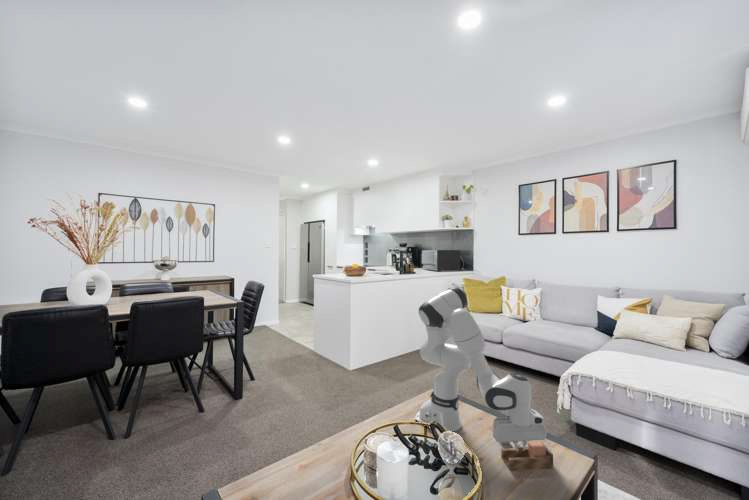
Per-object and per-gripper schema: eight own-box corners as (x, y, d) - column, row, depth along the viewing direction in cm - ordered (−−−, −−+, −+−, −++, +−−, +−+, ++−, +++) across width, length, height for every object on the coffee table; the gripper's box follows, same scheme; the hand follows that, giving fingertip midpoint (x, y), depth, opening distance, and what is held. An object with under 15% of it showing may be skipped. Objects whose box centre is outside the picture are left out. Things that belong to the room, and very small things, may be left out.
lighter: (507, 441, 134) (507, 423, 134) (510, 443, 133) (509, 425, 133) (493, 444, 132) (493, 426, 132) (496, 447, 131) (496, 428, 131)
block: (533, 463, 119) (533, 448, 119) (528, 457, 123) (528, 442, 123) (545, 462, 119) (545, 447, 119) (540, 456, 123) (540, 441, 123)
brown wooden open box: (510, 470, 117) (509, 456, 117) (501, 458, 124) (501, 445, 124) (553, 468, 118) (553, 454, 118) (542, 456, 125) (542, 442, 125)
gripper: (497, 421, 117) (497, 457, 117) (548, 418, 118) (549, 454, 118) (489, 412, 123) (490, 446, 123) (538, 410, 125) (539, 443, 125)
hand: (519, 450), depth 121 cm, fingers closed
